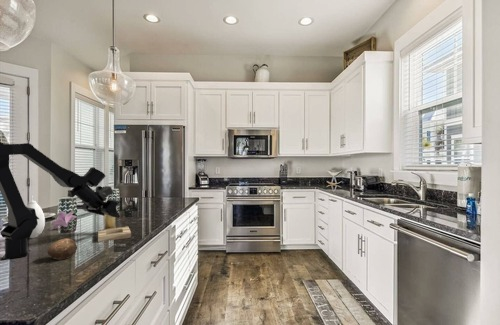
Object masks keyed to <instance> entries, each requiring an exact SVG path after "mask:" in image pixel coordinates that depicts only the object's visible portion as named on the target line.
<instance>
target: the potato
mask: <svg viewBox="0 0 500 325" xmlns="http://www.w3.org/2000/svg"><path fill="white" fill-rule="evenodd" d="M77 250H78V246H77V243H76V241H74V239H71V238H61V239H59V240H56V241H55V242H53V243H51V244H50V245H49V246H48V248H47V250H46V251H47V255H48V257H49V258H51V259H53V260H59V261H60V260H61V261H62V260H66V259H69V258H71V257H73V256H74V255H75V254H76V252H77Z"/></svg>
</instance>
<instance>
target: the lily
mask: <svg viewBox="0 0 500 325" xmlns="http://www.w3.org/2000/svg"><path fill="white" fill-rule="evenodd" d="M74 212H75V210H72V211H70V212H69V213H66V212H64V211H62V210H61V211H59V212H58V214H57V218H56V219H53V220H52V221H50V224H53V226H52V228H51V230H55V229H57V228H58V227H60V226H63V227H65V228H68V230H71V229H70V227H69V222H70V221H72V220H74V219H76V218H78V215H73V214H74Z"/></svg>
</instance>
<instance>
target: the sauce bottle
mask: <svg viewBox="0 0 500 325" xmlns="http://www.w3.org/2000/svg"><path fill="white" fill-rule="evenodd" d="M25 206H26V207H28V208H33V209H35V212H36V216H37V217H38V218H39V219H37V222H38V225H37V226H36V228H35V229H34V230H33V231H32V234H31V236H30V237H29V238H28V239H36V237H39V235H41V234H42V232H43V231H44V228H45V224H46V218H45V214H44V211H43V209H42V206H40V204H38V203H37V200H34V195H33V194H32V196H31V201H28V204H27V205H25Z"/></svg>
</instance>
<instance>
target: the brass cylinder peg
mask: <svg viewBox="0 0 500 325" xmlns="http://www.w3.org/2000/svg"><path fill="white" fill-rule="evenodd" d="M103 218H104V220H103V221H104V223H103V224H104V226H103V227H104V229H112V228H116V218H115V217H112V216H109V215H105V214H104V216H103Z"/></svg>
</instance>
